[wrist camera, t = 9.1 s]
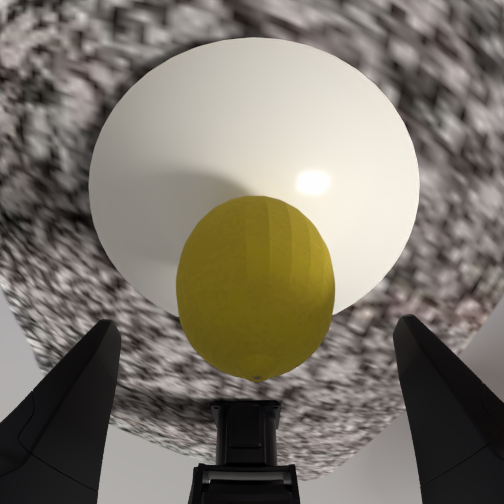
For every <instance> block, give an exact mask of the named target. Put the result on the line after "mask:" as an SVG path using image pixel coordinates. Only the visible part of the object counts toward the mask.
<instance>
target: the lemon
mask: <svg viewBox="0 0 504 504" xmlns="http://www.w3.org/2000/svg"><path fill="white" fill-rule="evenodd" d="M176 298H177V306H178V314H179V319H180V323H181V325H182V328H183V331H184V333H185V335H186V336H187V338H188V340H189V342H190V344H191V345H192V347H193V348H194V349H195V350H196V351H197V352H198V354H199V355H200V356H201V357H202V358H203V359H204V360H205V361H206V362H208V363H209V364H211V365H212V366H214V367H215V368H217V369H219V370H220V371H222V372H225V373H227V374H230V375H233V376H235V377H240V378H245V379H247V380H249V381H252V382H261V381H265V380H267V379H268V378H272V377H276V376H279V375H282V374H284V373H287V372H289V371H291V370H293V369H294V368H296V367H298V366H299V365H301V364H302V363H303V362H305V361H306V360H307V359H308V358H309V357H310V356H311V355H312V354H313V353H314V352H315V351H316V350H317V349H318V348H319V346H320V344H321V342H322V341H323V339H324V337H325V335H326V334H327V332H328V330H329V327H330V323H331V319H332V314H333V308H334V302H335V278H334V272H333V267H332V261H331V257H330V253H329V250H328V248H327V246H326V244H325V242H324V240H323V238H322V237H321V235H320V233H319V232H318V230H317V228H316V227H315V225H314V224H313V223H312V222H311V221H310V220H309V219H308V218H307V217H306V216H305V215H304V214H303V213H302V212H301V211H299V210H298V209H297V208H295V207H293V206H291V205H290V204H288V203H286V202H284V201H282V200H280V199H275V198H271V197H267V196H243V197H239V198H234V199H231V200H228V201H226V202H224V203H222V204H220V205H218V206H216V207H215V208H213V209H212V210H211V211H210V212H209V213H208V214H206V215H205V216H204V217H203V218H202V219H201V220H200V221H199V222H198V223H197V225H196V226H195V228H194V229H193V231H192V233H191V234H190V236H189V237H188V239H187V240H186V242H185V245H184V247H183V250H182V253H181V257H180V261H179V265H178V269H177V275H176Z"/></svg>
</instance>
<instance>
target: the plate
mask: <svg viewBox="0 0 504 504" xmlns="http://www.w3.org/2000/svg"><path fill="white" fill-rule="evenodd" d="M419 184H420V183H419V172H418V163H417V159H416V155H415V151H414V147H413V143H412V141H411V138H410V136H409V134H408V131H407V129H406V127H405V124H404V122H403V121H402V119H401V117H400V116H399V114H398V113H397V111H396V109H395V108H394V106H393V105H392V103H391V102H390V101H389V100H388V99H387V98H386V96H385V95H384V94H383V93H382V92H381V91H380V90H379V88H378V87H377V86H376V85H375V84H374V83H372V82H371V81H370V80H369V79H368V78H366V77H365V76H364V75H363V74H362V73H360V72H359V71H358V70H357V69H355V68H354V67H352V66H350V65H349V64H347V63H345V62H344V61H342V60H340V59H339V58H337V57H335V56H333V55H331V54H328V53H326V52H323V51H321V50H318V49H316V48H313V47H311V46H308V45H304V44H300V43H295V42H291V41H286V40H282V39H270V38H253V37H252V38H240V39H229V40H222V41H218V42H214V43H210V44H206V45H202V46H198V47H195V48H193V49H191V50H188V51H186V52H183V53H181V54H179V55H177V56H174V57H172V58H170V59H169V60H167V61H165V62H164V63H162V64H161V65H159V66H157V67H156V68H154V69H153V70H151V71H150V72H148V73H147V74H146V75H145V76H144V77H142V78H141V79H140V80H139V81H138V82H137V83H136V84H134V85H133V86H132V87H131V88H130V89H129V90H128V91H127V93H126V94H125V95H124V96H123V97H122V99H121V100H120V101H119V102H118V103H117V105H116V106H115V107H114V109H113V110H112V112H111V114H110V115H109V117H108V119H107V120H106V122H105V124H104V126H103V127H102V130H101V132H100V135H99V137H98V140H97V142H96V145H95V147H94V152H93V156H92V160H91V165H90V172H89V187H88V188H89V202H90V209H91V214H92V218H93V223H94V226H95V229H96V232H97V234H98V237H99V240H100V242H101V244H102V246H103V248H104V250H105V252H106V253H107V255H108V257H109V259H110V260H111V262H112V263H113V264H114V266H115V267H116V269H117V270H118V271H119V273H120V274H121V275H122V276H123V277H124V278H125V279H126V280H127V281H128V283H129V284H130V285H131V286H132V287H134V288H135V289H136V290H137V291H138V292H139V293H140V294H142V295H143V296H144V297H145V298H147V299H148V300H150V301H151V302H152V303H154V304H155V305H157V306H158V307H160V308H162V309H164V310H165V311H167V312H169V313H171V314H173V315H175V316H177V317H179V314H178V306H177V298H176V275H177V269H178V265H179V261H180V257H181V253H182V250H183V247H184V245H185V242H186V240H187V239H188V237H189V236H190V234H191V233H192V231H193V229H194V228H195V226H196V225H197V223H198V222H199V221H200V220H201V219H202V218H203V217H204V216H205V215H206V214H208V213H209V212H210V211H211V210H212V209H213V208H215V207H216V206H218V205H220V204H222V203H224V202H226V201H228V200H231V199H234V198H239V197H243V196H267V197H271V198H275V199H280V200H282V201H284V202H286V203H288V204H290V205H291V206H293V207H295V208H297V209H298V210H299V211H301V212H302V213H303V214H304V215H305V216H306V217H307V218H308V219H309V220H310V221H311V222H312V223H313V224H314V225H315V227H316V228H317V230H318V232H319V233H320V235H321V237H322V238H323V240H324V242H325V244H326V246H327V248H328V250H329V253H330V257H331V261H332V267H333V272H334V278H335V302H334V308H333V314H332V315H334V314H336V313H338V312H340V311H341V310H343V309H345V308H347V307H348V306H350V305H352V304H353V303H355V302H356V301H357V300H359V299H360V298H361V297H363V296H364V295H365V294H367V293H368V292H369V291H370V290H371V289H372V288H373V287H374V286H376V285H377V284H378V283H379V282H380V281H381V280H382V278H383V277H384V276H385V275H386V274H387V273H388V271H389V270H390V269H391V268H392V266H393V265H394V263H395V262H396V260H397V259H398V257H399V256H400V254H401V253H402V251H403V249H404V247H405V245H406V243H407V241H408V239H409V236H410V233H411V230H412V228H413V225H414V222H415V218H416V213H417V208H418V202H419Z"/></svg>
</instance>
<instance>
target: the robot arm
mask: <svg viewBox="0 0 504 504" xmlns="http://www.w3.org/2000/svg"><path fill="white" fill-rule="evenodd" d="M393 341H394V347H395V354H396V361H397V368H398V375H399V380H400V385H401V389H402V393H403V398H404V402H405V406H406V411H407V415H408V420H409V425H410V430H411V434H412V440H413V445H414V450H415V456H416V461H417V468H418V474H419V481H420V485H421V486H420V488H421V495H422V503H423V504H504V403H503V402H502V401H501V400H500V399H499V398H498V397H497V396H496V395H495V394H494V393H493V392H492V391H491V390H490V389H489V388H488V387H487V386H486V385H485V384H484V383H482V381H481V380H480V379H479V378H478V377H477V376H476V375H475V374H474V373H473V372H472V371H471V370H470V369H469V368H468V367H467V366H466V365H465V364H464V363H463V362H462V361H461V360H460V359H459V358H458V357H457V356H456V355H455V354H454V353H453V352H452V351H451V350H450V349H449V348H448V347H447V346H446V345H445V344H444V343H443V342H442V341H441V340H440V339H439V338H438V337H437V336H436V335H435V334H434V333H433V332H431V331H430V330H429V329H428V328H427V327H426V326H425V325H424V324H423V323H422V322H421V321H420V320H419V319H418V318H417V317H415V316H414V315H412V314H408V315H402V316H401V317H400V318H399V320H398V323H397V325H396V327H395V329H394V332H393ZM120 350H121V335H120V333H119V331H118V329H117V327H116V325H115V323H114V321H113V320H108V319H102V320H100V321H99V322H98V323H97V324H96V325H95V326H94V327H93V328H92V329H91V330H90V331H89V332H88V333H87V334H86V335H85V336H84V337H83V338H82V339H81V340H80V341H79V342H78V343H77V344H76V345H75V346H74V347H73V348H72V349H71V350H70V351H69V352H68V353H67V354H66V355H65V356H64V357H63V358H62V359H61V360H60V361H59V362H58V363H57V364H56V365H55V367H54V368H53V369H52V370H51V371H50V372H49V373H48V374H47V375H46V376H45V377H44V378H43V380H41V381H40V383H39V384H38V385H37V386H36V387H35V388H34V389H33V391H31V392H30V393H29V394H28V396H27V397H26V398H25V399H24V400H23V401H22V402H21V403H20V404H19V405H18V406H17V407H16V408H15V409H14V410H13V411H12V412H11V413H10V414H9V415H8V416H7V417H6V418H5V419H4V420H3V421H2V422H0V504H97V498H98V489H99V481H100V473H101V466H102V459H103V453H104V447H105V441H106V435H107V429H108V424H109V419H110V414H111V409H112V404H113V399H114V394H115V389H116V384H117V376H118V367H119V358H120ZM211 410H212V414H213V417H214V420H215V424H216V427H217V445H216V465H205V464H202V463H199V465H198V467H194V469H193V481H192V487H191V492H190V496H189V500H188V504H300V497H299V490H298V483H297V476H296V469H295V464H289V465H286V466H277V444H276V429H278V425H279V418H280V411H281V403H280V402H213V403H211ZM209 480H210V483H209Z"/></svg>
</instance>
